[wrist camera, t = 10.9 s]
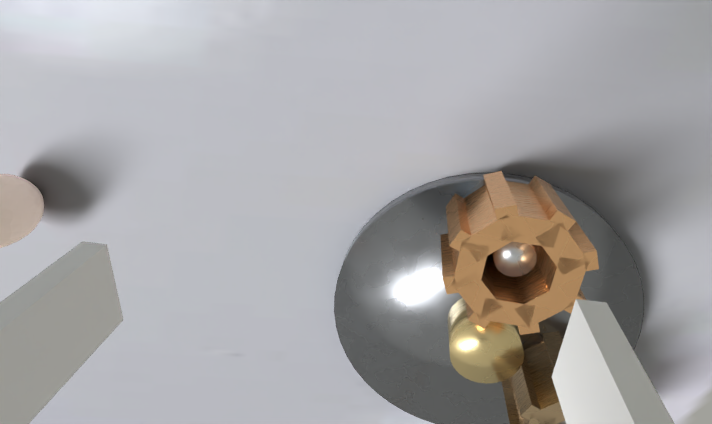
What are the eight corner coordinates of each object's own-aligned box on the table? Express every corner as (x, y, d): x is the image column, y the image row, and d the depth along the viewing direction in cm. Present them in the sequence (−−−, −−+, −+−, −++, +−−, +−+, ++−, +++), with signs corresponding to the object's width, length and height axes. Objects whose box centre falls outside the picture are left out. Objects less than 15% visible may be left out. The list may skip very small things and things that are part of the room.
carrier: (351, 151, 34) (332, 187, 27) (684, 198, 32) (754, 250, 25) (327, 390, 43) (308, 462, 36) (583, 438, 41) (613, 524, 34)
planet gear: (454, 164, 32) (459, 196, 26) (583, 182, 31) (617, 219, 25) (433, 271, 35) (433, 320, 30) (548, 290, 34) (571, 343, 29)
